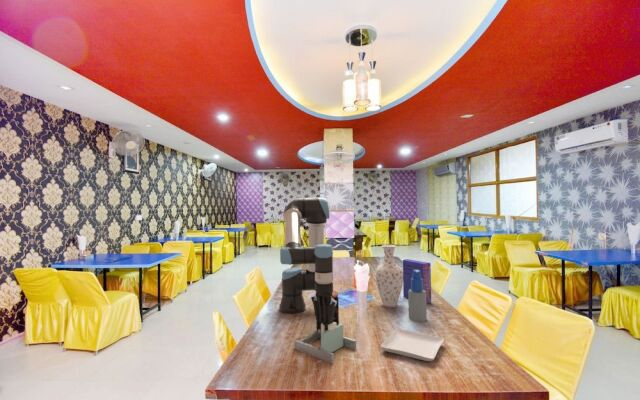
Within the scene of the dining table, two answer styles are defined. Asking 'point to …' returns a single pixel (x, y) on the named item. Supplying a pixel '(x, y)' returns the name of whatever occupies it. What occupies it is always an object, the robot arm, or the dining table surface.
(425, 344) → the salad plate
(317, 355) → the open-ended rimmed tray
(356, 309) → the dining table surface
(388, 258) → the vase
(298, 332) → the dining table surface
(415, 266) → the cereal box
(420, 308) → the spray bottle
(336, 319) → the coffee jar
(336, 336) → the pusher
